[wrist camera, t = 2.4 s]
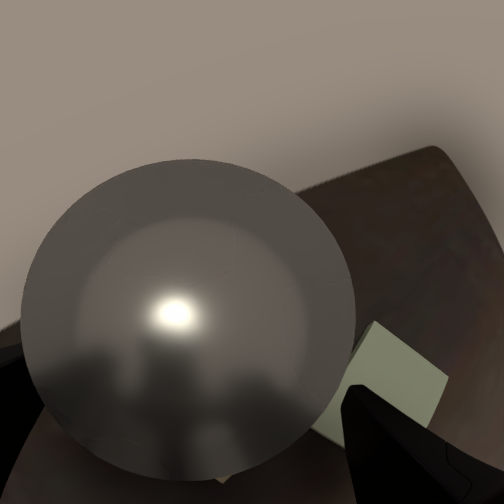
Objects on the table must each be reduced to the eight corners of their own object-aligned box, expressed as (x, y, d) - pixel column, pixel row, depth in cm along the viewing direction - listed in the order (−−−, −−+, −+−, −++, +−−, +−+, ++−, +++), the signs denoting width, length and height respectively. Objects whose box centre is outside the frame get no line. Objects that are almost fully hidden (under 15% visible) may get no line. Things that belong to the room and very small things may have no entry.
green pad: (440, 379, 15) (448, 377, 14) (390, 473, 11) (398, 475, 10) (368, 325, 17) (374, 320, 16) (302, 423, 13) (307, 423, 13)
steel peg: (279, 371, 15) (404, 268, 4) (219, 438, 13) (188, 544, 2) (209, 315, 17) (183, 130, 6) (149, 376, 14) (-11, 285, 3)
